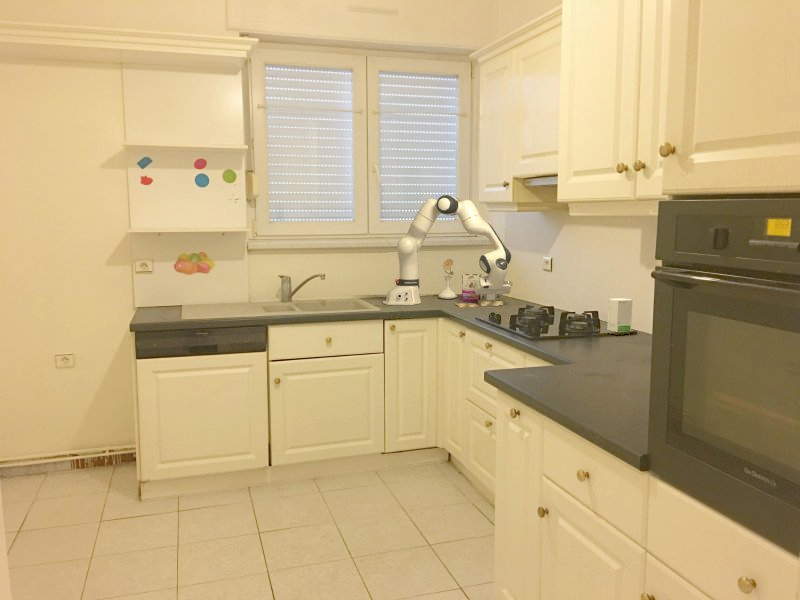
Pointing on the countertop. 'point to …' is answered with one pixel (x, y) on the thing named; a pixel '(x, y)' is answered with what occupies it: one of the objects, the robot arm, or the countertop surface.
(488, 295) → the grey block
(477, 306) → the cork mat
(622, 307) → the skincare box
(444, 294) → the flower in vase
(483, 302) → the birch box
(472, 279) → the candy bar box
